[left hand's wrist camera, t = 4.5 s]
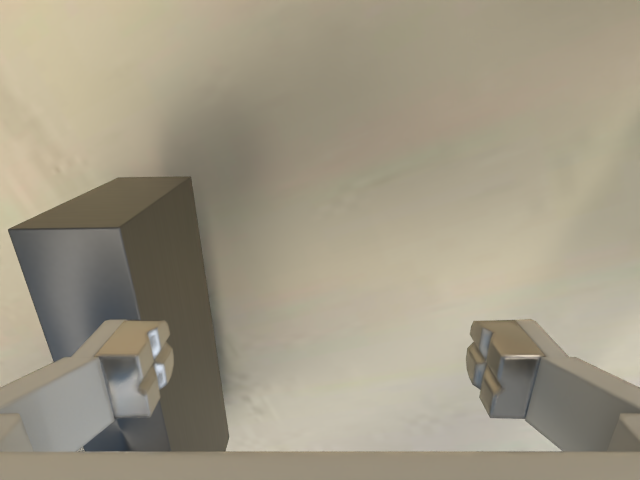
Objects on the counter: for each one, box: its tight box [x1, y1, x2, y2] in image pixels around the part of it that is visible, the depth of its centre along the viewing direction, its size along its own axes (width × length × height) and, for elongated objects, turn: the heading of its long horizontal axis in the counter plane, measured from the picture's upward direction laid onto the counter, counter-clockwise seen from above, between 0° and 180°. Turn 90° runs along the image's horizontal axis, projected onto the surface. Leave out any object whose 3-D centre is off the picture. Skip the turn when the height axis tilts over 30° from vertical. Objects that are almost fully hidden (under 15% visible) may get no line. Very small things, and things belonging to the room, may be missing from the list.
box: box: [8, 176, 229, 452], centre depth 30 cm, size 28×6×11 cm, turn 1°
